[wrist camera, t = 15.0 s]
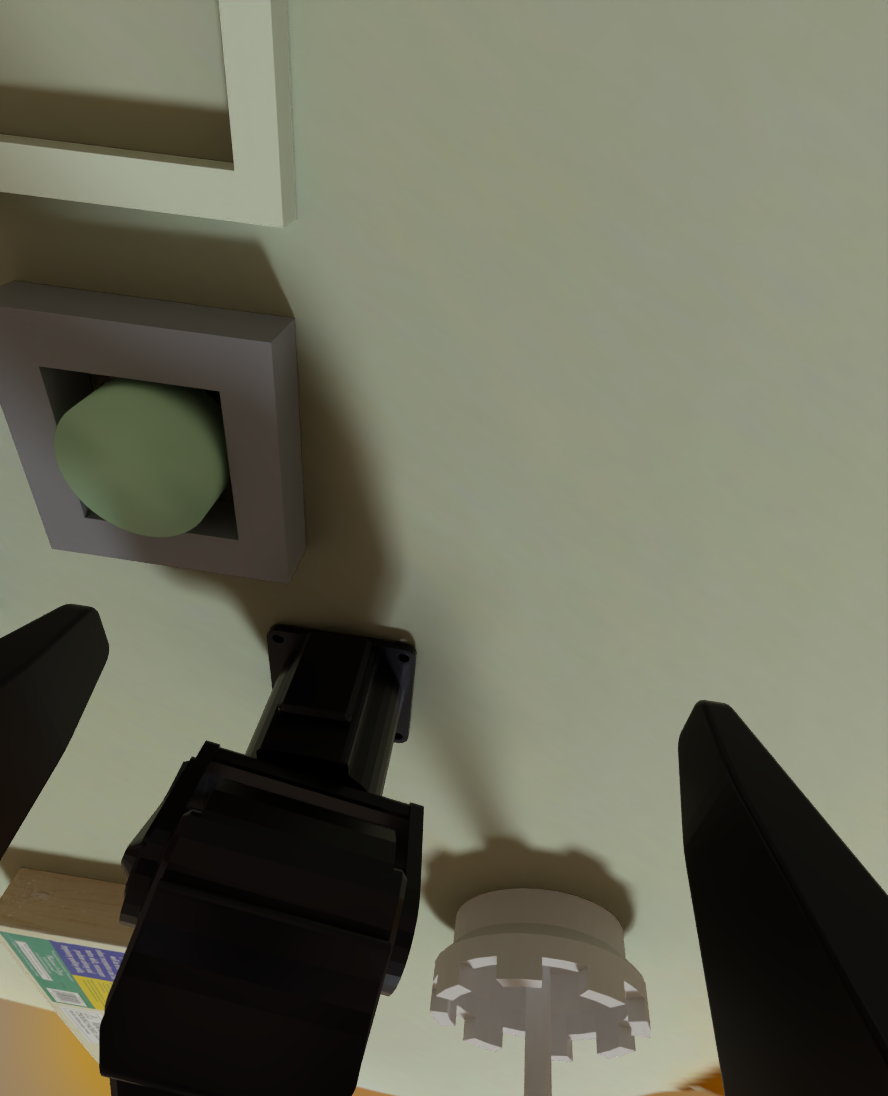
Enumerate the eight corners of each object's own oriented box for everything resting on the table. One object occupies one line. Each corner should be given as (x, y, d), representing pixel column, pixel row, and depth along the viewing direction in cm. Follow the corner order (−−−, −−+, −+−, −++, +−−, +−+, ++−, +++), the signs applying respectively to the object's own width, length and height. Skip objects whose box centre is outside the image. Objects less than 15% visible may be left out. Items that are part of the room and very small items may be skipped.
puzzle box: (129, 1023, 69) (349, 1064, 68) (106, 1077, 65) (338, 1121, 64) (23, 854, 47) (347, 910, 46) (-21, 920, 43) (330, 983, 42)
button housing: (306, 548, 25) (288, 584, 24) (84, 515, 26) (52, 548, 24) (294, 318, 20) (270, 342, 18) (13, 280, 20) (-37, 301, 18)
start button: (245, 508, 24) (219, 546, 22) (114, 488, 24) (77, 525, 22) (230, 379, 21) (199, 411, 19) (79, 358, 21) (33, 388, 19)
